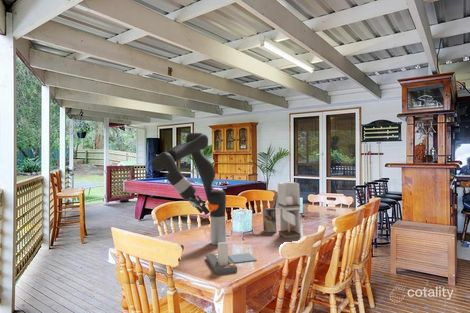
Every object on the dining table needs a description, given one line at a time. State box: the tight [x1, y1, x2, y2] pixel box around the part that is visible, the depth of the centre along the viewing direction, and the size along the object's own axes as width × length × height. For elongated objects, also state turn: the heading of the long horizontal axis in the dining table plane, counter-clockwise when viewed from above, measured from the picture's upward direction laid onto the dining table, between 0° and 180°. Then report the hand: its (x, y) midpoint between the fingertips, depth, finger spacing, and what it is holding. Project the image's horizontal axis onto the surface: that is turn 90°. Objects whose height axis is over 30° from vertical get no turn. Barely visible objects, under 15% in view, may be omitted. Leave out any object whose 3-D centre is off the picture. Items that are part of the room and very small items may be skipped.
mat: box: [228, 252, 257, 264], centre depth 170 cm, size 12×12×1 cm
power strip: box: [205, 252, 238, 275], centre depth 163 cm, size 28×10×3 cm, turn 16°
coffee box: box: [262, 207, 277, 233], centre depth 230 cm, size 9×6×16 cm
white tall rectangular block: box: [217, 242, 229, 266], centre depth 156 cm, size 4×4×12 cm
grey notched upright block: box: [277, 181, 302, 238], centre depth 217 cm, size 11×11×35 cm
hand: (205, 212), depth 158 cm, fingers open, 8 cm apart
